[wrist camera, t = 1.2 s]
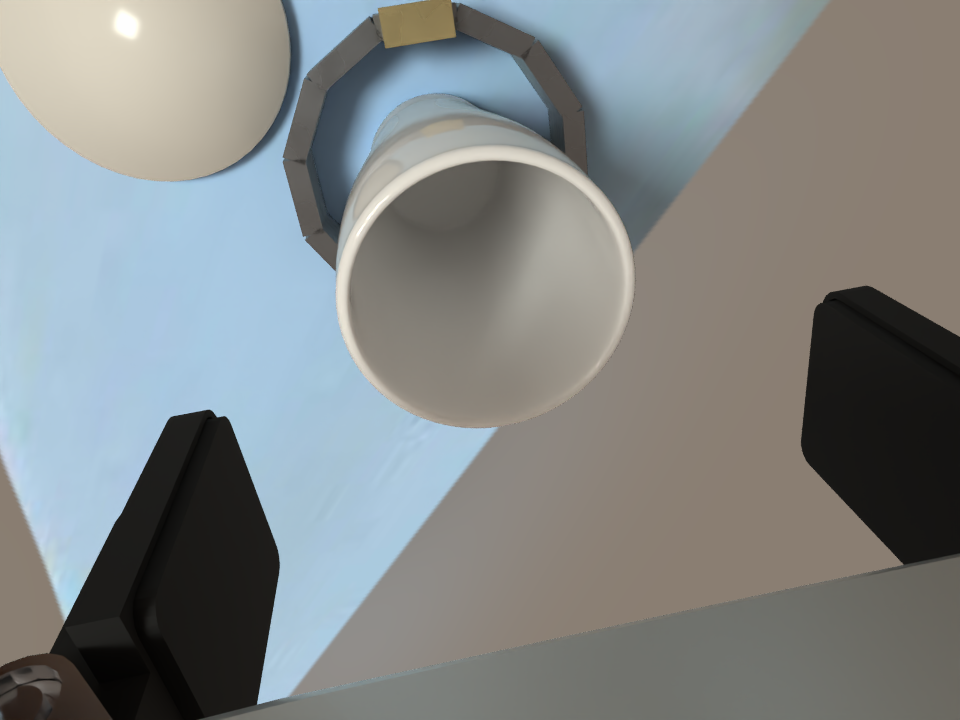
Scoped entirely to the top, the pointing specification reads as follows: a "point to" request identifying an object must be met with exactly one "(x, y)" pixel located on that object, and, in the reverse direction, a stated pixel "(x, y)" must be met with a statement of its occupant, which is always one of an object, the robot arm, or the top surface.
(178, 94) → the disc
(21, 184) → the top surface
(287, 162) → the collar
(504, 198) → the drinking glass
